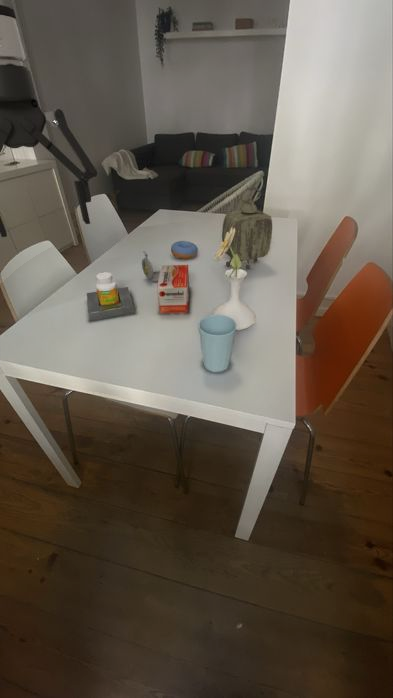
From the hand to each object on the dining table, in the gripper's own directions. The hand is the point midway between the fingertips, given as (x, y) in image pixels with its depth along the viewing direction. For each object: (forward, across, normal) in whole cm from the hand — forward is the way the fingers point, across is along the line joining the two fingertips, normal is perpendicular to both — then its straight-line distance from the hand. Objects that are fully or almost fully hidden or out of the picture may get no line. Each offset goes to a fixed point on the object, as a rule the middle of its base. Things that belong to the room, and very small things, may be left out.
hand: (47, 228), depth 55 cm
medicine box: (+29, +29, +14) cm, 43 cm away
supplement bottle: (+29, +11, +19) cm, 36 cm away
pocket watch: (+29, +29, +30) cm, 50 cm away
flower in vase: (+29, +36, -5) cm, 47 cm away
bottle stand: (+29, +11, +19) cm, 36 cm away
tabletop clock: (+29, +60, +23) cm, 70 cm away
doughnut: (+29, +46, +43) cm, 69 cm away
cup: (+29, +25, -17) cm, 42 cm away
